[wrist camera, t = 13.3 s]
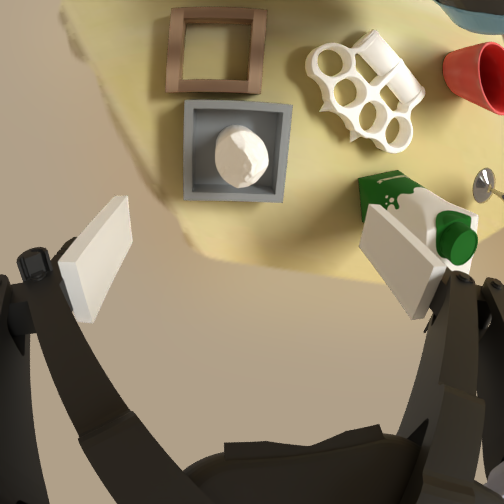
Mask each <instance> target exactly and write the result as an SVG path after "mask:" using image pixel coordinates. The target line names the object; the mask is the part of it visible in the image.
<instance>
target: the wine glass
mask: <svg viewBox="0 0 504 504" xmlns="http://www.w3.org/2000/svg"><path fill="white" fill-rule="evenodd" d="M493 193H494V194H496V195H497V196H498V197H499V198H501V199H502V200H503V202H504V193H502V192H499V191H497V190H495V175H494V173H493V171H492V170H491V169H489V168H484V169H482V170H481V171H480V172H479V173H478V174H477V176H476V178H475V181H474V185H473V195H474V198H475V200H476V201H477V202H478V203H485V202H487V201H488V200H489V199H490V197H491V196H492V194H493Z"/></svg>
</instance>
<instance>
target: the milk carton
mask: <svg viewBox="0 0 504 504" xmlns="http://www.w3.org/2000/svg"><path fill="white" fill-rule="evenodd" d="M358 182H359V191H360V201H361V212H362V222H363V223H365V219H366V214H367V210H368V205H369V204H376V205H381V206H382V207H383V208H384V209H386V210H387V211H388V212H389V213H390V214H391V215H393V216H394V217H395V218H396V219H397V220H398V221H399V222H400V223H402V224H403V225H404V226H405V227H406V228H407V229H408V230H409V231H410V232H412V233H413V234H414V235H415V236H416V237H417V238H418V239H419V240H420V241H421V242H422V243H423V244H424V245H426V246H427V247H428V248H429V249H430V250H431V251H432V252H433V253H434V254H435V255H436V256H437V257H438V258H439V259H440V260H441V261H442V262H443V263H444V264H445V265H446V266H447V267H448V268H449V269H450V270H451V271H454V270H457V271H462V272H464V273H466V274H469V271H470V266H471V261H472V257H473V256H474V253H475V251H476V248H477V244H478V237H477V225H478V215H477V214H475V213H473V212H471V211H468V210H466V209H464V208H461V207H459V206H456V205H454V204H452V203H449V202H447V201H445V200H444V199H442V198H441V197H439V196H437V195H436V194H434V193H433V192H431V191H429V190H428V189H426V188H424V187H423V186H421V185H420V184H418V183H416V182H414V181H413V180H411V179H410V178H408V177H407V176H406V175H404V174H403V173H401V172H400V171H399V170H396V171H391V172H386V173H381V174H376V175H371V176H367V177H362V178H358Z"/></svg>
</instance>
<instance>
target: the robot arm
mask: <svg viewBox="0 0 504 504" xmlns="http://www.w3.org/2000/svg"><path fill="white" fill-rule="evenodd" d="M433 1H434V2H435V3H437V4H438V5H440V7H441V8H442V9H443V10H444V11H445V13H446V14H447V15H448V16H449V17H450V19H451V20H452V21H453V22H454V23H455V24H456V25H458V26H459V27H461V28H463V29H466V30H468V31H470V32H474V33H478V34H486V35H502V34H504V0H433ZM132 243H133V240H132V232H131V224H130V213H129V203H128V196H114V197H113V198H112V199H111V200H110V201H109V202H108V204H106V206H105V207H104V208H103V209H102V210H101V211H100V212H99V213H98V214H97V215H96V217H95V218H94V219H93V220H92V221H91V222H90V223H89V224H88V226H87V227H86V228H85V229H84V230H83V231H82V233H81V234H80V235H79V236H78V237H73V238H72V239H70V240H69V241H67V242H66V243H65V244H64V245H63V246H62V248H61V250H59V251H58V252H57V255H55V256H54V257H53V258H52V260H51V261H50V258H49V254H48V250H46V248H43V247H37V248H32V249H29V250H27V251H25V252H23V253H22V254H21V255H20V256H19V257H18V259H17V265H18V268H19V271H20V274H21V277H22V280H23V283H18V284H12V285H10V282H9V279H8V277H7V276H6V275H2V274H1V275H0V504H49V499H48V495H47V490H46V486H45V482H44V478H43V474H42V469H41V465H40V459H39V454H38V448H37V442H36V436H35V429H34V421H33V413H32V400H31V386H30V334H33V333H37V336H38V340H39V343H40V346H41V349H42V351H43V354H44V357H45V360H46V363H47V366H48V368H49V371H50V373H51V376H52V379H53V381H54V384H55V386H56V388H57V391H58V393H59V395H60V398H61V400H62V402H63V404H64V406H65V408H66V411H67V413H68V415H69V417H70V419H71V421H72V423H73V425H74V427H75V429H76V431H77V433H78V435H79V438H78V441H79V444H80V446H81V447H82V449H83V451H84V453H85V455H86V457H87V458H88V460H89V462H90V463H91V465H92V467H93V468H94V470H95V472H96V473H97V475H98V476H99V478H100V479H101V481H102V482H103V484H104V486H105V487H106V488H107V490H108V491H109V493H110V494H111V496H112V497H113V498H114V500H115V501H116V503H117V504H504V285H503V284H502V283H501V281H499V280H497V279H494V278H489V277H488V278H486V280H485V282H484V284H483V286H479V285H475V281H474V280H473V279H472V277H470V276H469V275H468V274H466V273H464V272H462V271H457V270H454V271H451V270H450V269H449V268H448V267H447V266H446V265H445V264H444V263H443V262H442V261H441V260H440V259H439V258H438V257H437V256H436V255H435V254H434V253H433V252H432V251H431V250H430V249H429V248H428V247H427V246H426V245H424V244H423V243H422V242H421V241H420V240H419V239H418V238H417V237H416V236H415V235H414V234H413V233H412V232H410V231H409V230H408V229H407V228H406V227H405V226H404V225H403V224H402V223H400V222H399V221H398V220H397V219H396V218H395V217H394V216H393V215H391V214H390V213H389V212H388V211H387V210H386V209H384V208H383V207H382V206H381V205H376V204H369V205H368V210H367V214H366V219H365V223H364V227H363V231H362V236H361V240H360V244H359V248H360V249H361V250H362V252H363V253H364V254H365V255H366V257H367V258H368V259H369V261H370V262H371V263H372V265H373V266H374V268H375V269H376V270H377V272H378V273H379V274H380V276H381V277H382V278H383V280H384V281H385V283H386V284H387V285H388V287H389V288H390V290H391V291H392V292H393V294H394V295H395V297H396V298H397V300H398V301H399V302H400V304H401V305H402V307H403V308H404V310H405V311H406V313H407V314H408V316H409V317H410V319H411V320H415V319H423V318H424V317H425V315H426V313H427V311H428V309H429V307H430V309H431V310H432V311H433V314H432V316H431V318H430V320H429V322H428V324H427V326H426V328H425V330H424V333H426V331H427V330H428V331H427V336H426V340H425V344H424V349H423V353H422V357H421V361H420V365H419V368H418V372H417V376H416V379H415V382H414V386H413V389H412V393H411V396H410V399H409V402H408V405H407V408H406V411H405V414H404V416H403V419H402V422H401V425H400V427H399V430H398V432H397V434H396V435H391V434H383V433H382V430H381V428H380V425H379V424H377V425H373V426H369V427H364V428H360V429H355V430H349V431H345V432H343V433H341V434H339V435H336V436H334V437H332V438H330V439H327V440H324V441H322V442H320V443H317V444H315V445H312V446H300V445H290V444H282V443H274V442H268V441H263V442H262V441H261V442H234V443H224V452H222V453H218V454H214V455H211V456H208V457H205V458H203V459H201V460H199V461H197V462H195V463H193V464H192V465H190V466H189V467H187V468H186V469H185V470H183V471H182V470H181V469H180V468H179V467H178V465H177V464H176V463H175V462H174V461H173V460H172V459H171V458H170V457H169V455H168V454H167V453H166V452H165V451H164V449H163V448H162V447H161V446H160V445H159V444H158V442H157V441H156V440H155V438H154V437H153V436H152V435H151V434H150V433H149V431H148V430H147V429H146V427H145V426H144V424H143V423H142V422H141V421H140V419H139V418H138V417H137V415H136V414H135V413H134V412H133V411H130V409H128V407H127V405H126V404H125V403H124V401H123V400H122V398H121V397H120V395H119V394H118V392H117V391H116V389H115V388H114V386H113V385H112V383H111V381H110V380H109V378H108V377H107V375H106V374H105V372H104V370H103V369H102V367H101V365H100V364H99V362H98V360H97V359H96V357H95V355H94V353H93V352H92V350H91V348H90V346H89V344H88V343H87V341H86V339H85V337H84V335H83V333H82V331H81V330H80V328H79V326H78V324H77V322H76V320H77V321H78V322H86V323H94V320H95V319H96V316H97V314H98V312H99V309H100V307H101V305H102V303H103V301H104V299H105V297H106V294H107V292H108V290H109V288H110V286H111V284H112V282H113V280H114V278H115V276H116V274H117V272H118V270H119V268H120V266H121V264H122V262H123V260H124V258H125V256H126V254H127V252H128V250H129V248H130V247H131V245H132ZM72 311H73V312H74V315H75V318H76V320H75V318H74V316H73V314H72ZM490 322H491V323H490ZM489 324H490V325H489ZM488 325H489V327H488ZM476 391H477V396H478V397H477V396H476ZM481 441H482V446H483V460H484V466H485V474H486V478H487V483H485V484H484V485H482V484H480V483H479V482H477V481H475V480H474V477H475V473H476V468H477V463H478V458H479V453H480V447H481Z"/></svg>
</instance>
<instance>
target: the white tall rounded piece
mask: <svg viewBox="0 0 504 504" xmlns="http://www.w3.org/2000/svg"><path fill="white" fill-rule="evenodd" d="M268 162H269V160H268V152H267V149H266V147H265V144H264V142H263V141H262V140H261V139H260V138H259V137H258V136H257V135H256V134H255V133H253V132H252V131H251V130H250V129H249V128H247V127H245V126H242V125H231V126H228V127H226V128H224V129H223V130H222V131H221V132H220V133H219V135H218V137H217V139H216V148H215V164H216V167H217V170H218V172H219V174H220V175H221V177H222V178H223V179H224V180H225V181H226V182H227V183H229V184H231V185H232V186H234V187H236V188H242V187H243V188H244V187H248V186H250V185H252V184H254V183H255V182H257V181H258V179H259V178H260V177H261V176H262V175H263V173H264V172H265V170H266V168H267V166H268Z"/></svg>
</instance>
